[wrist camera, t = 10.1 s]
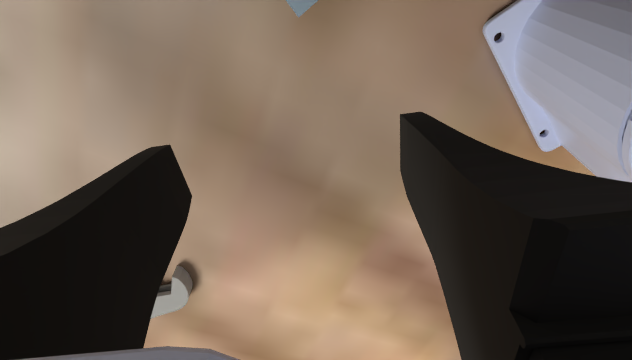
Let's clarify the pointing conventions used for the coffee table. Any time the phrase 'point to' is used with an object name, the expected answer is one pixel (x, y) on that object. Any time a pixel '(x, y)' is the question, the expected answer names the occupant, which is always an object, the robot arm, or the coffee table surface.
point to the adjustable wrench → (173, 293)
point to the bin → (300, 5)
